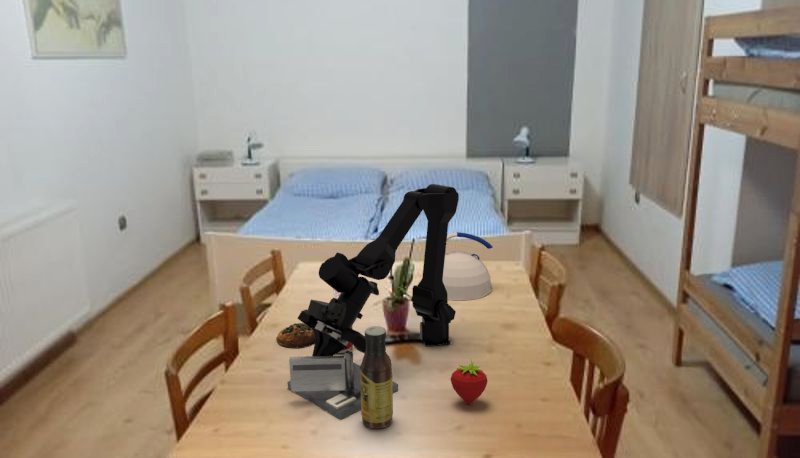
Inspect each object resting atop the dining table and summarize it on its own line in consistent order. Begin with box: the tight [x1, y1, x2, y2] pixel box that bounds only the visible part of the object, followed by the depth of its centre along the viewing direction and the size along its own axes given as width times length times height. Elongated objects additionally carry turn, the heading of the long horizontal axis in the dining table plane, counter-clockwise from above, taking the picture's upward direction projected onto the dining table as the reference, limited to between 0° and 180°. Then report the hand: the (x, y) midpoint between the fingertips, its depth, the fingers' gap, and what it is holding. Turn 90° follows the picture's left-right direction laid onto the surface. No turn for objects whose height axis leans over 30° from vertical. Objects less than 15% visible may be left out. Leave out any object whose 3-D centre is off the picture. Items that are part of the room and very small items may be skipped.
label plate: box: [326, 394, 356, 409], centre depth 132 cm, size 5×4×1 cm
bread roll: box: [275, 322, 315, 349], centre depth 164 cm, size 11×11×5 cm
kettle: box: [424, 231, 494, 301], centre depth 196 cm, size 20×21×18 cm
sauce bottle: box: [360, 325, 394, 430], centre depth 124 cm, size 6×6×20 cm
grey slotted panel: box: [288, 350, 354, 393], centre depth 133 cm, size 13×2×8 cm, turn 91°
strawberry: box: [450, 359, 488, 405], centre depth 132 cm, size 6×8×10 cm
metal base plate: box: [287, 361, 399, 421], centre depth 139 cm, size 16×18×2 cm
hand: (312, 366), depth 135 cm, fingers closed
